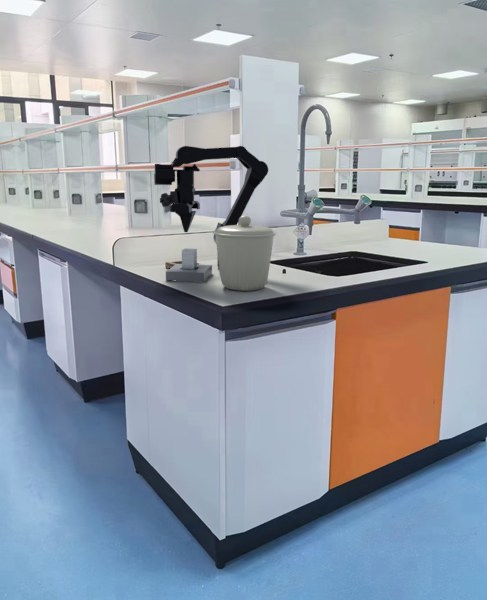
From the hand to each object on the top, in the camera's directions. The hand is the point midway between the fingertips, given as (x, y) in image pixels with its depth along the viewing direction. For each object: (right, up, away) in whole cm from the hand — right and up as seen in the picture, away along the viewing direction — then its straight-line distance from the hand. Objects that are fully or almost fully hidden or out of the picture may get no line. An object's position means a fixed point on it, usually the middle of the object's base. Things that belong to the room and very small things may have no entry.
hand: (186, 232), depth 179 cm
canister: (+20, -20, -23) cm, 36 cm away
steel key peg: (+2, -16, -10) cm, 19 cm away
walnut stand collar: (-2, -12, +5) cm, 13 cm away
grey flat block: (+2, -16, -10) cm, 19 cm away
